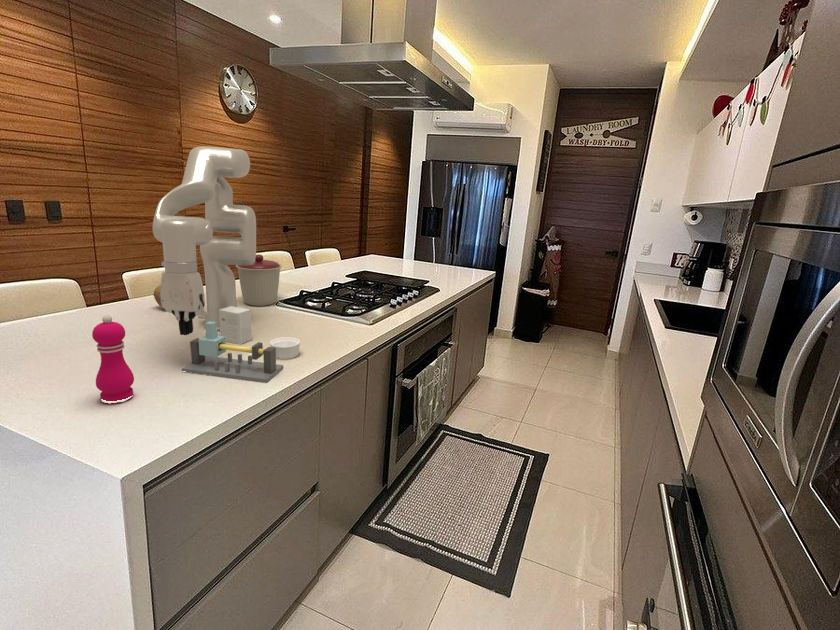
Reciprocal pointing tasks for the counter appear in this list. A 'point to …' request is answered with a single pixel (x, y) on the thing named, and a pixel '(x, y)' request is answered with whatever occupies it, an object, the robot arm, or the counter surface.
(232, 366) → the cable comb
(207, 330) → the sleeve
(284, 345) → the ramekin
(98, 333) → the pepper mill
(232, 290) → the robot arm
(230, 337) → the small box
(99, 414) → the counter surface
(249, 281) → the canister
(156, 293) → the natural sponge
